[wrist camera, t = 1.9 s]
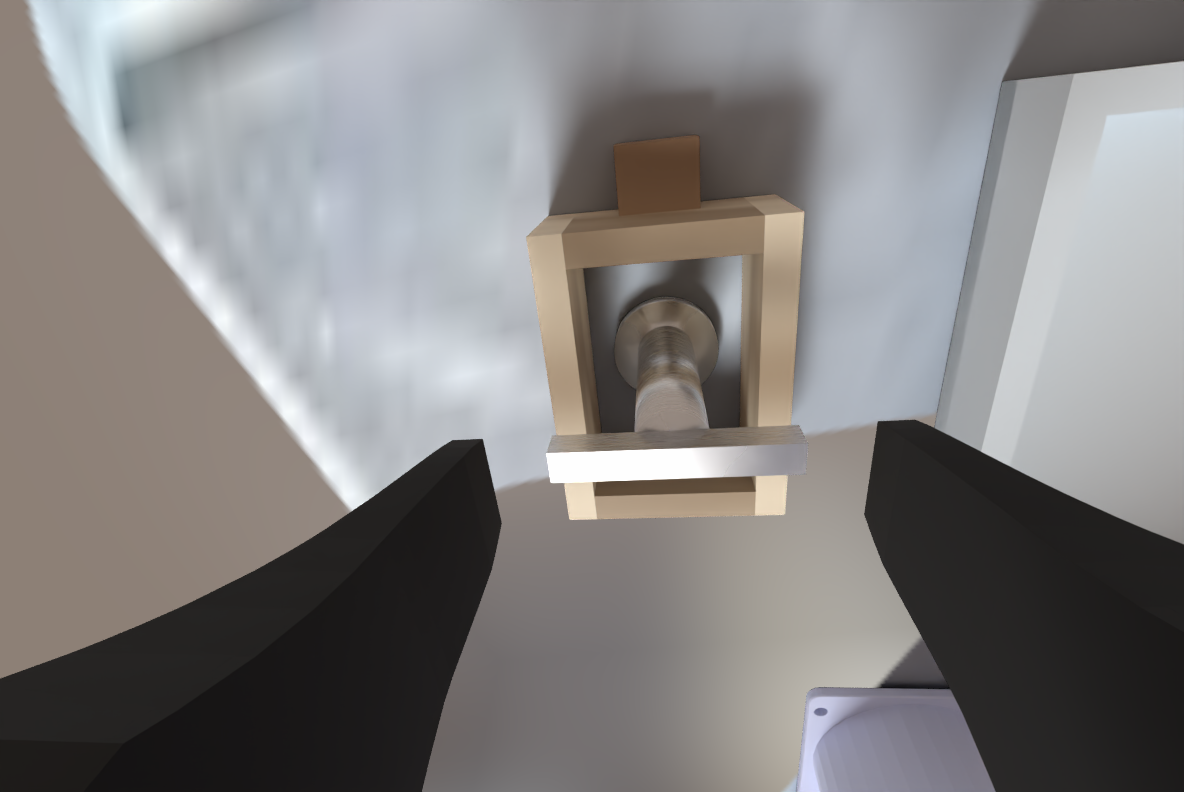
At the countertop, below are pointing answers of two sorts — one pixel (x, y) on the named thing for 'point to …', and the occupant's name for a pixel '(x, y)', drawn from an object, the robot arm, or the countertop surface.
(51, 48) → the countertop surface
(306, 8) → the countertop surface
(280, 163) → the countertop surface
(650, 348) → the t head stake
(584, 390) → the wooden lantern frame
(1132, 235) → the tray
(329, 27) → the countertop surface
